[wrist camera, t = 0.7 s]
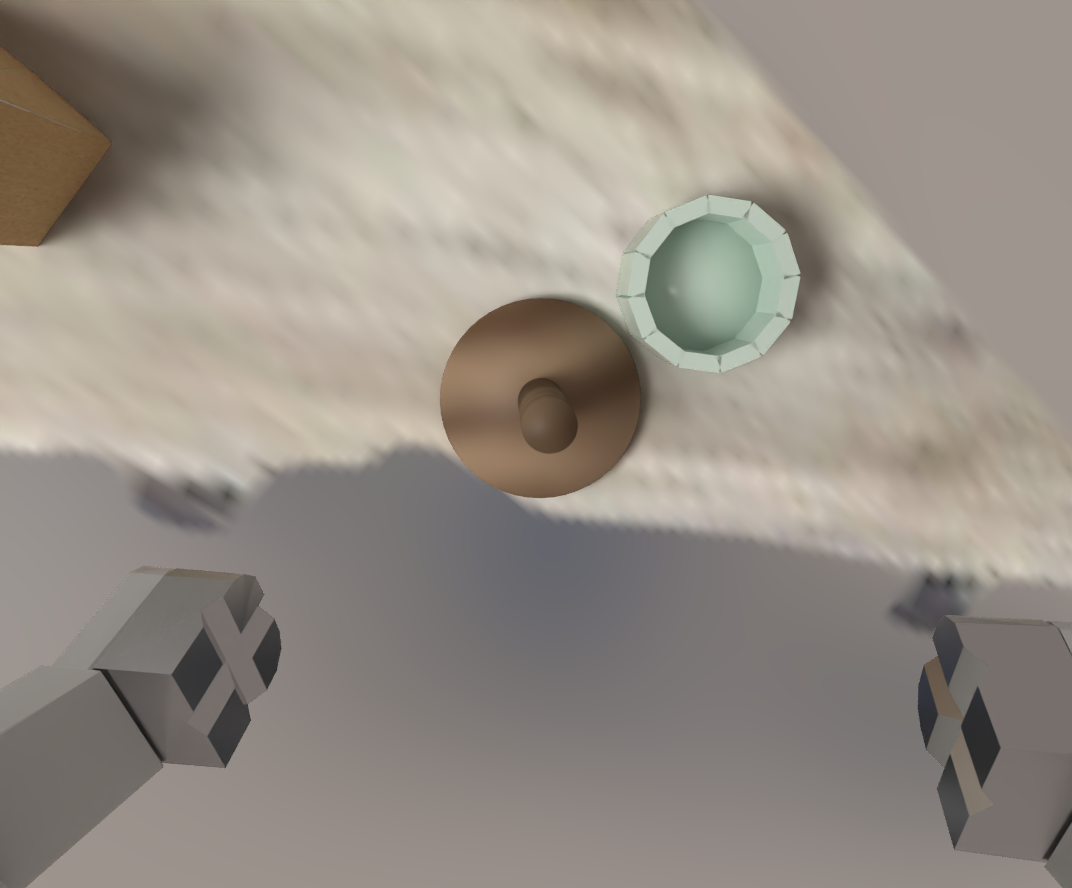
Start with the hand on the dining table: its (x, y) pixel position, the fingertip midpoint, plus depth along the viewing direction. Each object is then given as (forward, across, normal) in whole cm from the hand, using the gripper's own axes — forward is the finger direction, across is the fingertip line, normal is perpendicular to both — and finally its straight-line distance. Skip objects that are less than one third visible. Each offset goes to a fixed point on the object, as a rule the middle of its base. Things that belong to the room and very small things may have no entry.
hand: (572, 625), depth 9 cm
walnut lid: (+36, +8, +19) cm, 41 cm away
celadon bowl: (+40, -2, +14) cm, 43 cm away
